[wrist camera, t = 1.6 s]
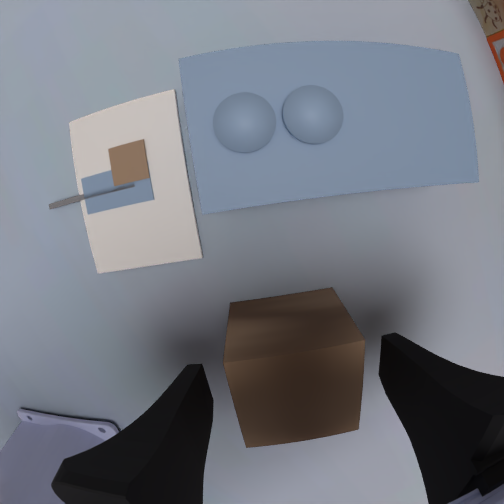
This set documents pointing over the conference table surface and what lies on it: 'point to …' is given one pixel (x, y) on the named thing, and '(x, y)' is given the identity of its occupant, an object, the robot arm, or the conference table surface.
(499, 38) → the stack of blocks
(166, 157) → the page
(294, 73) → the base brick
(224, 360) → the walnut brick
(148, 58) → the conference table surface
